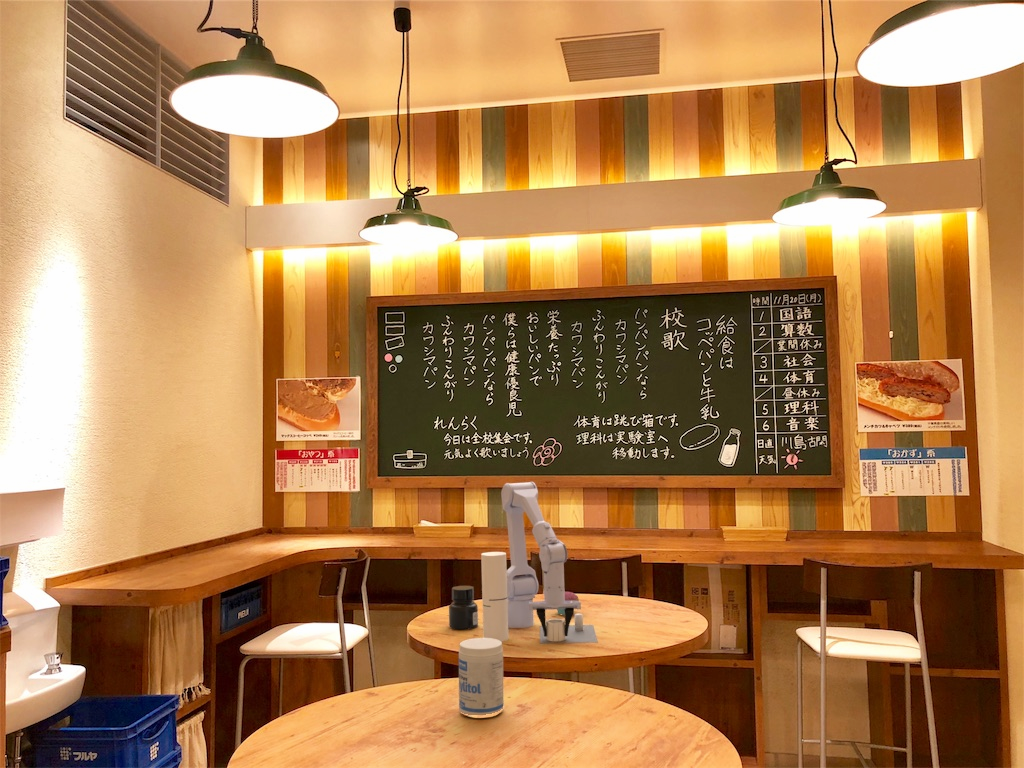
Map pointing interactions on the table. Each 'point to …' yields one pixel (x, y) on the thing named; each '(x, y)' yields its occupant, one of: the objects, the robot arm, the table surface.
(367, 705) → the table surface
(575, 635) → the duct board
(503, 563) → the cylindrical container
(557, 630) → the sleeve
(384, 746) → the table surface
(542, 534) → the robot arm
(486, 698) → the supplement tub
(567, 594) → the cupcake
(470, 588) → the ink bottle
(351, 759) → the table surface
